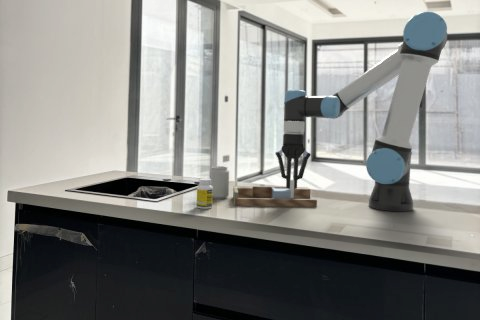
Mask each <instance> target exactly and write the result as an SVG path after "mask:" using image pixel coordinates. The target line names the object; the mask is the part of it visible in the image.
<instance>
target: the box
mask: <svg viewBox="0 0 480 320" xmlns="http://www.w3.org/2000/svg"><path fill="white" fill-rule="evenodd" d="M272 188H282V189H287V188H286V186H266V185H265V186H263V185H261V186H260V185H258V186H257V185H256V186H255V185H252V186H251V185H250V186H249V185H233V189H232V191H233V193H232V197H233V205H234V207H235V206H236V207H238V206H239V207H240V206H241V207H247V206H248V207H297V208H298V207H299V208H300V207H303V208H304V207H305V208H306V207H309V208H315V207H316V208H317V206H318V200H317V198H316V199H314V198H313V199H312V198H311V188H310V187H308V186H297V188H296V189H294V198H291V199H272Z"/></svg>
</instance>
